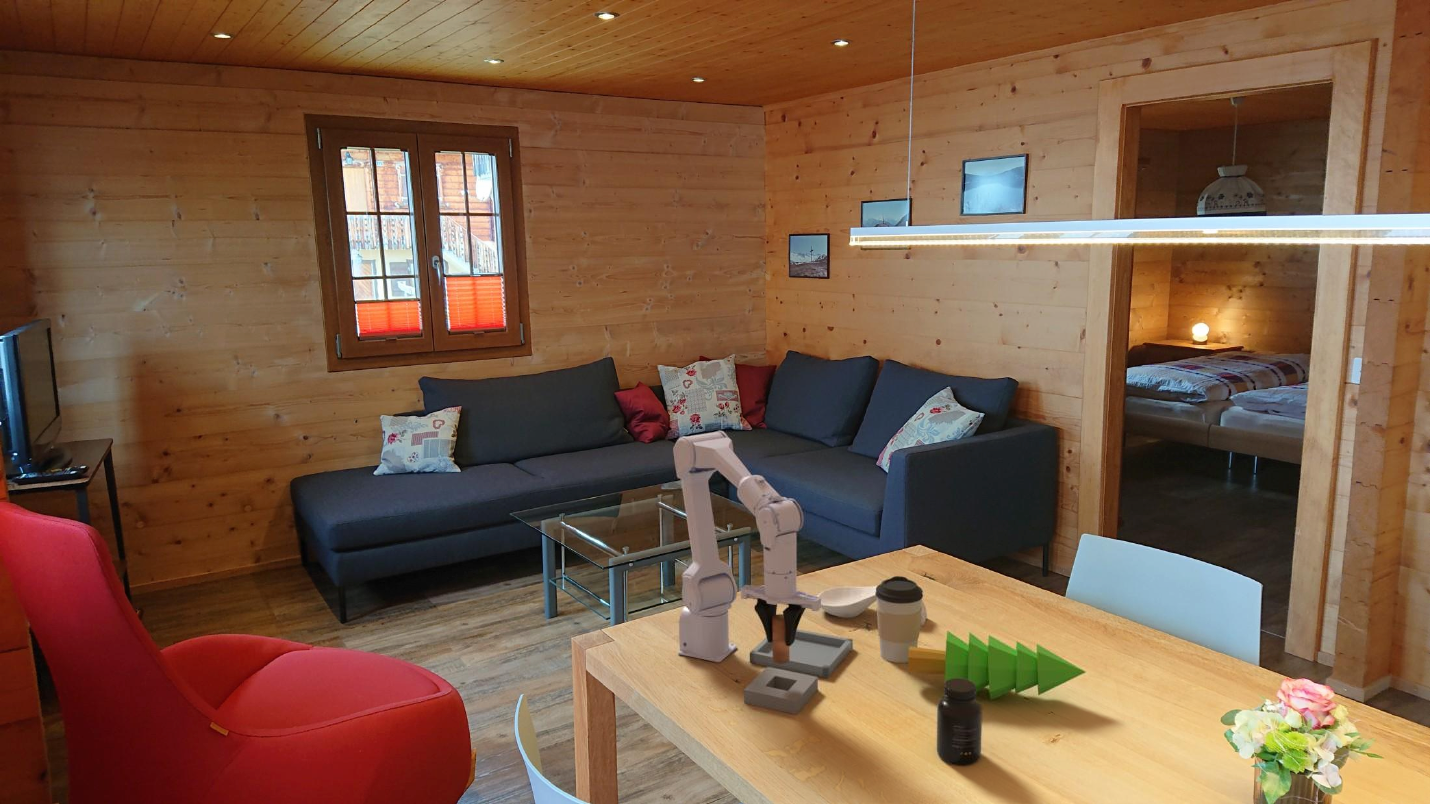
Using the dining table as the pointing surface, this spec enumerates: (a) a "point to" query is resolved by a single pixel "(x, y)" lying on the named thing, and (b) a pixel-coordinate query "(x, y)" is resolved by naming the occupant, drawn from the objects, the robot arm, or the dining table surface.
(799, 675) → the socket block
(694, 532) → the robot arm
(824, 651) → the tray
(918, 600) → the coffee cup
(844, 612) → the spoon rest
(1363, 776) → the dining table surface
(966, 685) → the supplement bottle
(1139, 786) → the dining table surface
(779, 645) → the dowel pin
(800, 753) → the dining table surface
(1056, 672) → the decorative tree
